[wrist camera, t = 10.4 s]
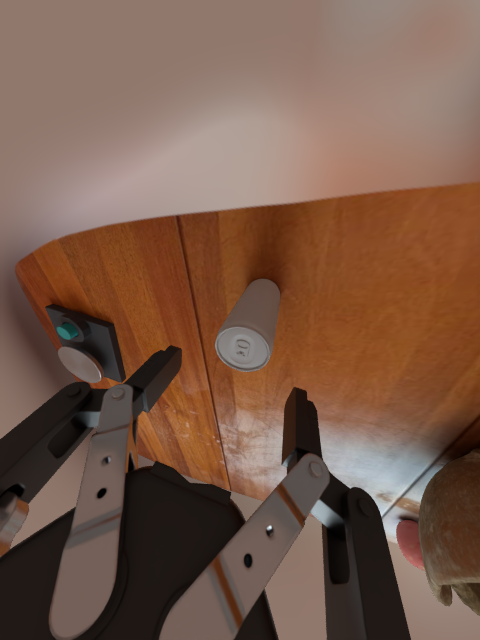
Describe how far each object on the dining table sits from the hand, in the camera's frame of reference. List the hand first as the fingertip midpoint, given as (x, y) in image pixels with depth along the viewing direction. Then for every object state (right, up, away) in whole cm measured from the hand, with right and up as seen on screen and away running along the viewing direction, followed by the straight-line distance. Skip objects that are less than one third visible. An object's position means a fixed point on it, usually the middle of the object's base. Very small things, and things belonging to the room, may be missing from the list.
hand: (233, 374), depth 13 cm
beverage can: (+4, +7, +12) cm, 15 cm away
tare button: (-31, +2, +22) cm, 39 cm away
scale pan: (-33, -5, +27) cm, 43 cm away
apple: (+41, -44, +32) cm, 68 cm away
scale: (-32, -2, +28) cm, 42 cm away
